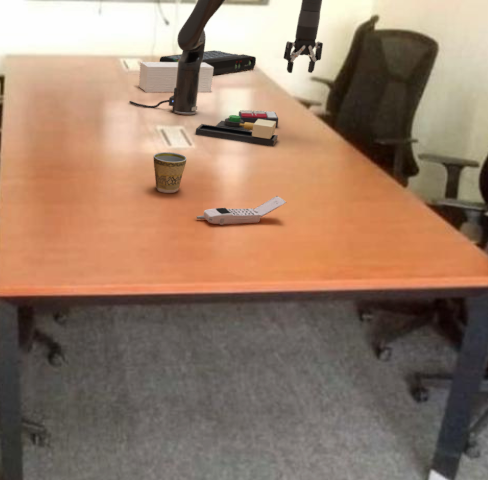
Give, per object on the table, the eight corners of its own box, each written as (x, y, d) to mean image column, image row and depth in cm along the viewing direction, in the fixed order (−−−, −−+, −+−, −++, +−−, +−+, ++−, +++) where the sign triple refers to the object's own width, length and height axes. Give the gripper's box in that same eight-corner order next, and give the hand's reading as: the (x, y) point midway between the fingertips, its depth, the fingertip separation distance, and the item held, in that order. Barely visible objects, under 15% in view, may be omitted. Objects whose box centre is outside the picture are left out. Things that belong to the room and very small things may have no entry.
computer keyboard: (214, 60, 424) (216, 47, 420) (254, 69, 408) (256, 56, 404) (159, 67, 396) (160, 53, 393) (199, 78, 380) (200, 63, 377)
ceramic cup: (173, 197, 230) (176, 164, 224) (144, 189, 234) (147, 157, 228) (193, 186, 239) (197, 154, 233) (165, 179, 243) (168, 148, 238)
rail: (195, 134, 291) (196, 128, 290) (200, 129, 298) (201, 123, 296) (273, 146, 284) (274, 140, 282) (276, 141, 290) (277, 135, 289)
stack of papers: (202, 86, 364) (205, 62, 358) (210, 91, 355) (213, 67, 349) (138, 86, 355) (140, 61, 349) (145, 92, 347) (147, 66, 341)
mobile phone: (288, 202, 214) (205, 205, 208) (284, 222, 218) (203, 226, 211) (278, 195, 219) (197, 198, 212) (275, 215, 222) (195, 218, 216)
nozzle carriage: (235, 137, 286) (238, 121, 283) (240, 131, 293) (243, 116, 290) (269, 142, 283) (272, 126, 280) (273, 136, 290) (276, 121, 287)
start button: (227, 121, 299) (228, 116, 298) (229, 119, 303) (230, 114, 302) (238, 123, 298) (239, 118, 297) (240, 120, 302) (241, 116, 301)
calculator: (238, 109, 314) (275, 110, 313) (238, 120, 316) (274, 120, 316) (241, 115, 305) (278, 116, 304) (240, 126, 307) (277, 127, 307)
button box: (215, 129, 300) (216, 120, 298) (221, 123, 307) (222, 115, 305) (245, 133, 297) (247, 125, 295) (250, 128, 304) (251, 120, 302)
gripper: (320, 23, 279) (311, 70, 288) (285, 22, 275) (278, 70, 284) (330, 26, 273) (321, 74, 282) (295, 25, 269) (287, 74, 278)
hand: (299, 72), depth 283 cm, fingers open, 8 cm apart
